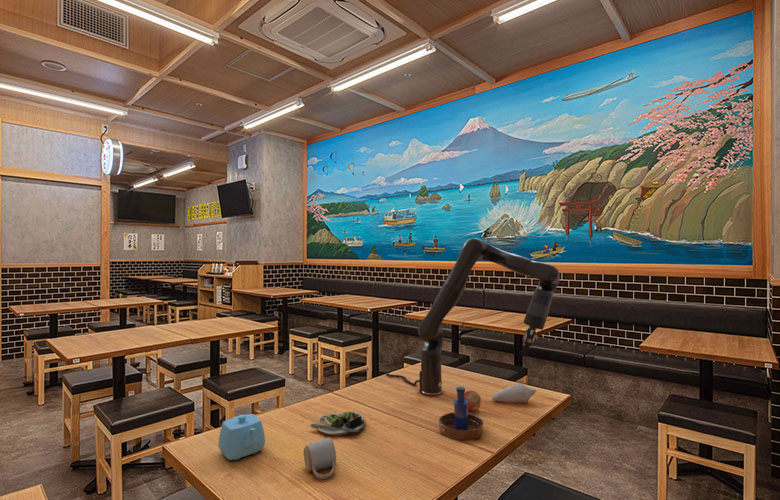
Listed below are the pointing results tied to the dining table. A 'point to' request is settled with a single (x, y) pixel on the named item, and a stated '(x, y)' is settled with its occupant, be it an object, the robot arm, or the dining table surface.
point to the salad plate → (340, 423)
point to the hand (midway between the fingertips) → (523, 354)
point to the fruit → (472, 400)
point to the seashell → (514, 394)
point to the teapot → (241, 436)
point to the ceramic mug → (320, 457)
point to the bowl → (472, 433)
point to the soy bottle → (460, 410)
